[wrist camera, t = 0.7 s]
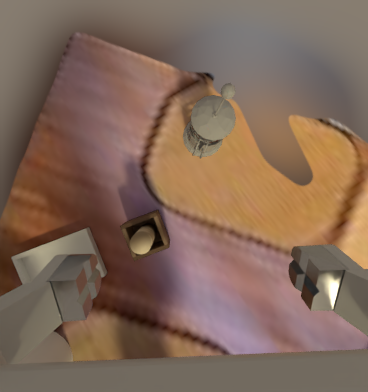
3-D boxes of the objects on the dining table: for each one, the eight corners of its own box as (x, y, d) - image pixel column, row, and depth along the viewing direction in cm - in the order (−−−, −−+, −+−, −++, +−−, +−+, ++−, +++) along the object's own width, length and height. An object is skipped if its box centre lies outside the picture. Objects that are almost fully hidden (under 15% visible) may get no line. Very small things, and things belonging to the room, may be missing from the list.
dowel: (159, 235, 52) (154, 249, 40) (143, 241, 52) (134, 257, 40) (153, 220, 52) (146, 229, 40) (137, 226, 51) (126, 237, 39)
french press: (228, 125, 53) (278, 67, 28) (211, 169, 53) (245, 151, 28) (191, 110, 52) (208, 36, 27) (174, 154, 52) (175, 122, 27)
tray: (107, 272, 52) (104, 276, 50) (36, 300, 52) (31, 304, 50) (89, 227, 52) (85, 228, 50) (17, 254, 51) (11, 257, 49)
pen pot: (169, 239, 53) (169, 247, 46) (139, 251, 52) (134, 261, 45) (158, 209, 52) (155, 212, 45) (127, 221, 52) (120, 226, 45)
